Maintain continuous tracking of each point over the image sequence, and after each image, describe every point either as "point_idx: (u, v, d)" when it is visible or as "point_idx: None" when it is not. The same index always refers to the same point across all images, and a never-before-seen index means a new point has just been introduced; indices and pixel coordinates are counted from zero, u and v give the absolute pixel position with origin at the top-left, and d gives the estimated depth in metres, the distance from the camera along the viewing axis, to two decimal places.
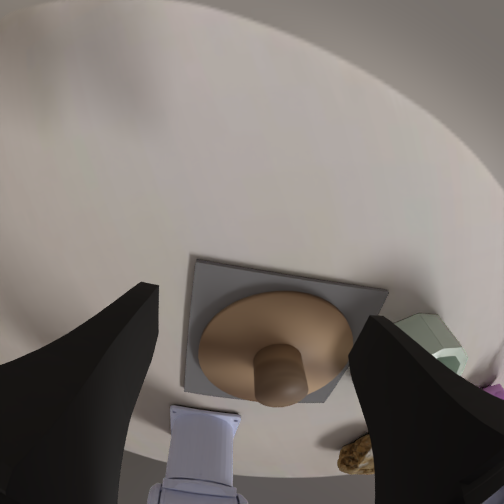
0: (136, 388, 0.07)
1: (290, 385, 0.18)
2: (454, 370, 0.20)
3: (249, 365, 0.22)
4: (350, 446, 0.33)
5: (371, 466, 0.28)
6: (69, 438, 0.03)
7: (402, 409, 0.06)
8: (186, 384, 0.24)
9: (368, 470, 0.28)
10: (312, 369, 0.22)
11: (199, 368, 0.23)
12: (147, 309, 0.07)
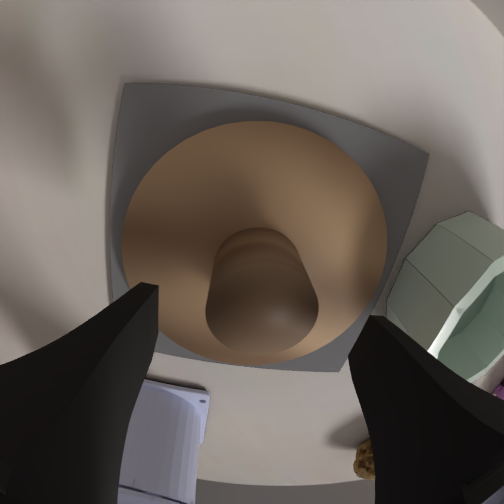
0: (136, 388, 0.07)
1: (279, 291, 0.09)
2: None
3: (207, 279, 0.13)
4: (370, 443, 0.23)
5: None
6: (69, 438, 0.03)
7: (402, 409, 0.06)
8: None
9: None
10: (321, 294, 0.13)
11: None
12: (147, 309, 0.07)
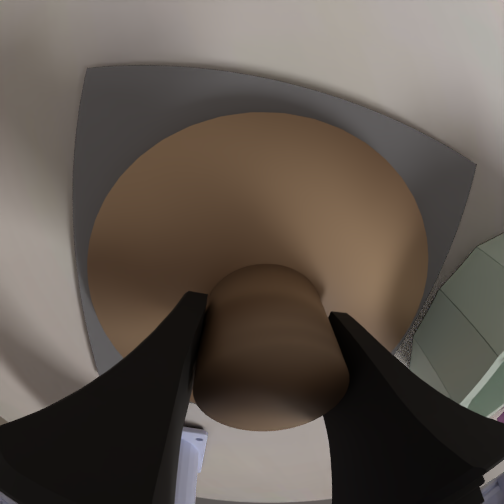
0: (188, 399, 0.07)
1: (298, 371, 0.06)
2: None
3: None
4: None
5: None
6: (165, 468, 0.03)
7: (358, 415, 0.06)
8: (99, 367, 0.12)
9: None
10: None
11: None
12: (202, 319, 0.07)
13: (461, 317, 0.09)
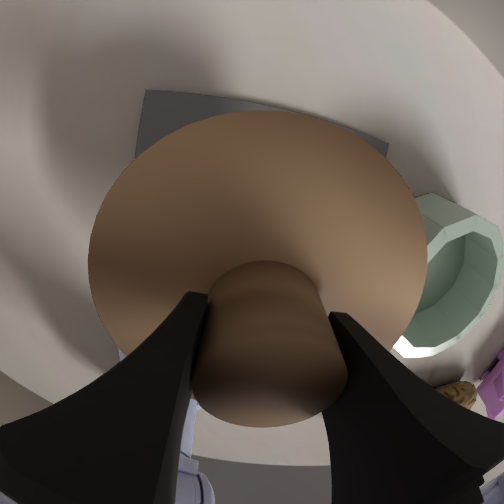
0: (188, 399, 0.07)
1: (296, 367, 0.06)
2: (490, 277, 0.15)
3: None
4: None
5: None
6: (166, 468, 0.03)
7: (358, 415, 0.06)
8: None
9: None
10: None
11: None
12: (202, 320, 0.07)
13: None
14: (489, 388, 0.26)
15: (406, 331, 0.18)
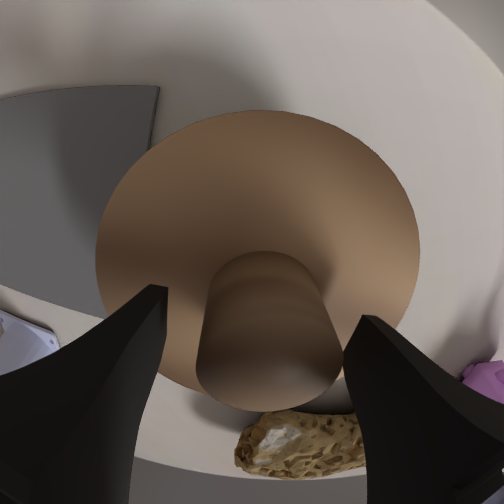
0: (146, 390, 0.07)
1: (295, 347, 0.06)
2: None
3: (201, 312, 0.10)
4: (253, 428, 0.23)
5: (280, 466, 0.18)
6: (86, 445, 0.03)
7: (394, 410, 0.06)
8: None
9: (278, 473, 0.18)
10: (338, 327, 0.11)
11: None
12: (158, 311, 0.07)
13: None
14: None
15: None
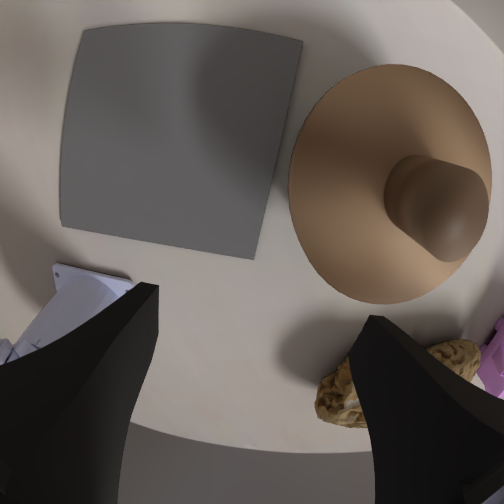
0: (136, 388, 0.07)
1: (472, 194, 0.08)
2: None
3: (377, 201, 0.12)
4: (332, 376, 0.24)
5: None
6: (69, 438, 0.03)
7: (402, 409, 0.06)
8: (62, 209, 0.17)
9: None
10: None
11: (73, 172, 0.16)
12: (147, 309, 0.07)
13: None
14: (487, 364, 0.24)
15: None
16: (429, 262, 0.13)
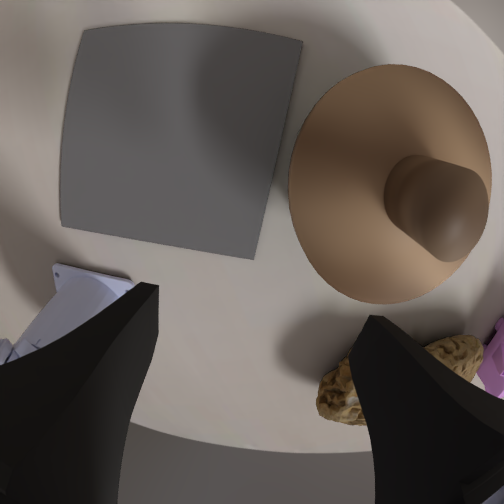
0: (136, 388, 0.07)
1: (472, 194, 0.08)
2: None
3: (377, 201, 0.12)
4: (333, 373, 0.24)
5: None
6: (69, 438, 0.03)
7: (402, 409, 0.06)
8: (62, 210, 0.17)
9: None
10: None
11: (73, 172, 0.16)
12: (147, 309, 0.07)
13: None
14: (487, 364, 0.24)
15: None
16: (429, 262, 0.13)
